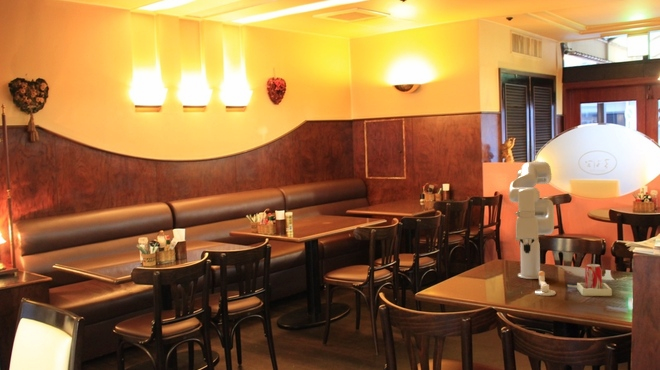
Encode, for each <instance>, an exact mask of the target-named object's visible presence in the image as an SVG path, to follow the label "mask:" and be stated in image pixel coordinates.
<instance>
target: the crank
mask: <svg viewBox="0 0 660 370" xmlns="http://www.w3.org/2000/svg"><path fill="white" fill-rule="evenodd" d="M538 275H539V279H538V285H539V286H540V289H541V291H542V292H549V290H550V284H547V282H546V281H545V280H546V279H545V276H546V272H545V271H544V270H540V272H539V273H538Z"/></svg>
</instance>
